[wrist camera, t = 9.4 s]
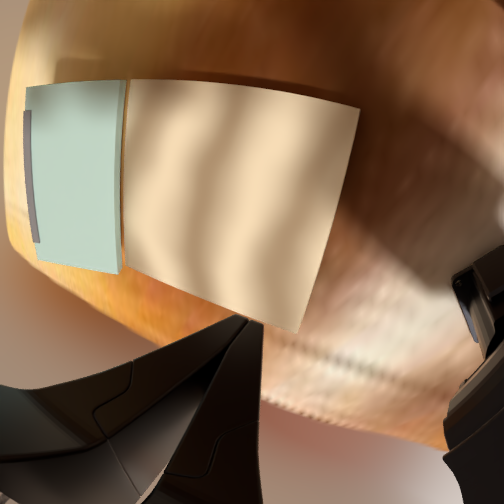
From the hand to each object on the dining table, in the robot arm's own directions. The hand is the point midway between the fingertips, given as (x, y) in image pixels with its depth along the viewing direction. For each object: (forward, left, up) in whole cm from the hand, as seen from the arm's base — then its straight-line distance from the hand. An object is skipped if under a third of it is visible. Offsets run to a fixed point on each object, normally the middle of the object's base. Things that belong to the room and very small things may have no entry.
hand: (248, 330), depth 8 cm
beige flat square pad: (+4, +6, -13) cm, 15 cm away
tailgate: (+11, +11, -11) cm, 19 cm away
